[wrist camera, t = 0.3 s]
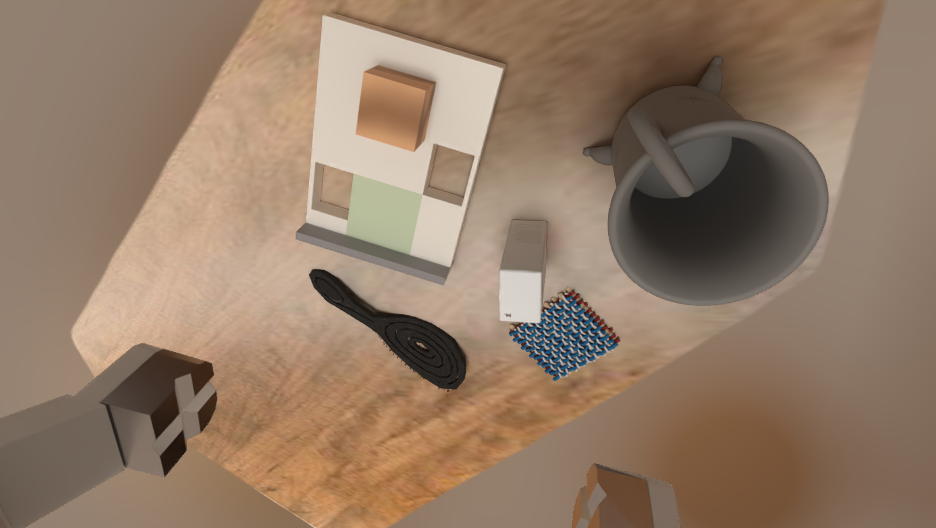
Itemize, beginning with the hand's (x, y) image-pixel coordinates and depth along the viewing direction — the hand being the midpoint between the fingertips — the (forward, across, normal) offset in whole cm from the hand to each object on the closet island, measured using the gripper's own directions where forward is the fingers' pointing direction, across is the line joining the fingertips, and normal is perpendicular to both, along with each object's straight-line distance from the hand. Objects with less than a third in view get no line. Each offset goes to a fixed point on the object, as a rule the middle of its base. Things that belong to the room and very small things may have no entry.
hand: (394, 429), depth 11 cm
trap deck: (+46, +13, +12) cm, 49 cm away
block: (+43, +13, +6) cm, 46 cm away
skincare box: (+46, -4, +19) cm, 50 cm away
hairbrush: (+46, +12, +36) cm, 60 cm away
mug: (+46, -14, +4) cm, 48 cm away
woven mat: (+47, -11, +30) cm, 57 cm away
